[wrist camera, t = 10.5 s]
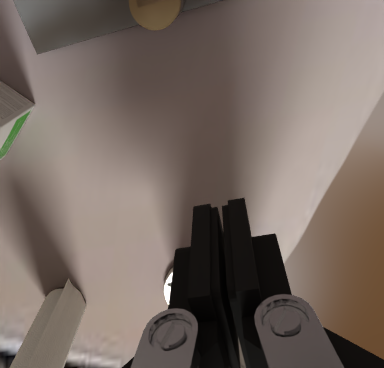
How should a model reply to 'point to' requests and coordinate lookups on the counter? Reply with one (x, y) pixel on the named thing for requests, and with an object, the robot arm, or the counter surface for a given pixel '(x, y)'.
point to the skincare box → (12, 116)
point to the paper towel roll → (52, 330)
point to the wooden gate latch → (78, 19)
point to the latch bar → (154, 12)
